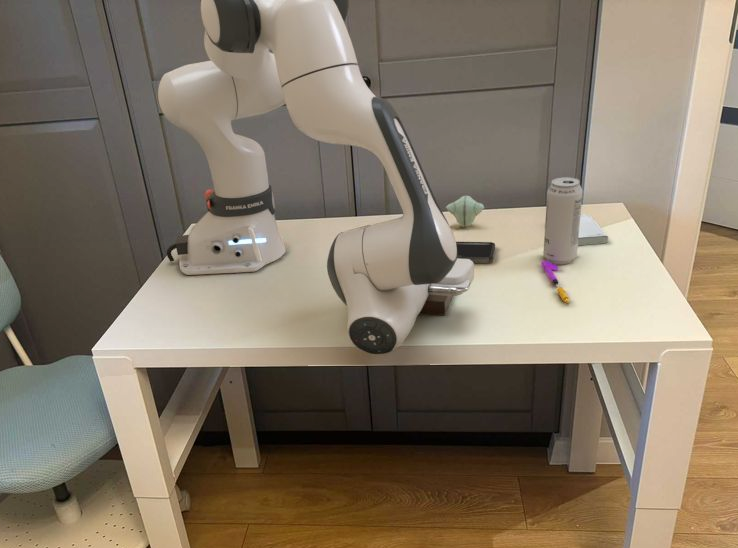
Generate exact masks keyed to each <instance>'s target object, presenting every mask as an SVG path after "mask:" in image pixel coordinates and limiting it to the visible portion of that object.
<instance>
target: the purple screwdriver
mask: <svg viewBox="0 0 738 548" xmlns="http://www.w3.org/2000/svg"><path fill="white" fill-rule="evenodd" d="M540 264H541V267H542V269H543V271H545V273H546V274H547V276H548V278H549V280H550V281H551V283H552V284H553V285H554V286H556V287H557V289H556V293H557V294H558V296H559V297H560V298H561V300H562V301H563V302H564V303H567V304H570V300H569V296H568V295H567V293H566V290H565V289H564V287H561V286H559V280H558V278H557V276H556V275H555V273H554V272H553V271H559V267H558V266H557V265H558V264H552V263H550V262H549V261H547V260H546V259H544V260H542V261H541V263H540Z"/></svg>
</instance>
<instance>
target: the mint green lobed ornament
mask: <svg viewBox="0 0 738 548" xmlns="http://www.w3.org/2000/svg"><path fill="white" fill-rule="evenodd" d="M445 209H446V210H447V211H448V212H449V213H450V214H451V215H452V216H453V217H454V218H455V220H456V222H457V223H458V224H459V226H460V227H462V228H468V227H470V226H471V225H472V224H473V223H474V222H475V220H476V217H477V216H479V215H480V214H481V213H482V212H483V210H484V209H485V206H484V204H483V203H481V202H477V201H476V200H475V199H473V198H472V196H469V195H463V196H462V195H461V196H460V198H458V199H457V200H455V201H453V202H451V203H448V205H447V206H445Z"/></svg>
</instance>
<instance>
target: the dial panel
mask: <svg viewBox="0 0 738 548" xmlns="http://www.w3.org/2000/svg"><path fill="white" fill-rule="evenodd" d="M452 299H453V296H444V295H430V294H429V296H428V298H427V300H426V302H425V304H424V306H423V308H422V310H421V311H420V313H419V314H425V315H438V316H445V315H446V314H447V311H448V309H449V306H450V304H451V301H452Z"/></svg>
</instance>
